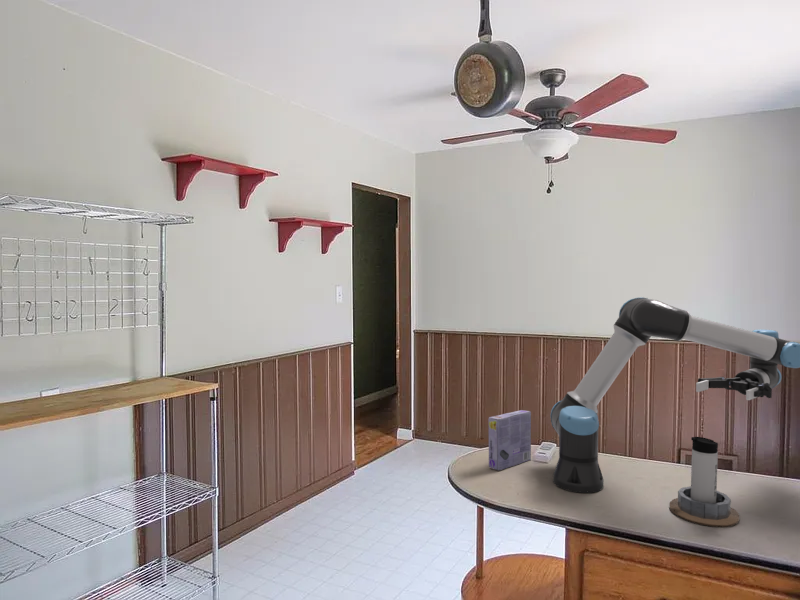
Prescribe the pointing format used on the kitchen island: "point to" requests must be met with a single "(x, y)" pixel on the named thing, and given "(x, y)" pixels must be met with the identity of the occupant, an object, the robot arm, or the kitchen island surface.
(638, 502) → the kitchen island surface
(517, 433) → the cake pan box
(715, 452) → the travel mug
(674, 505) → the ring collar
